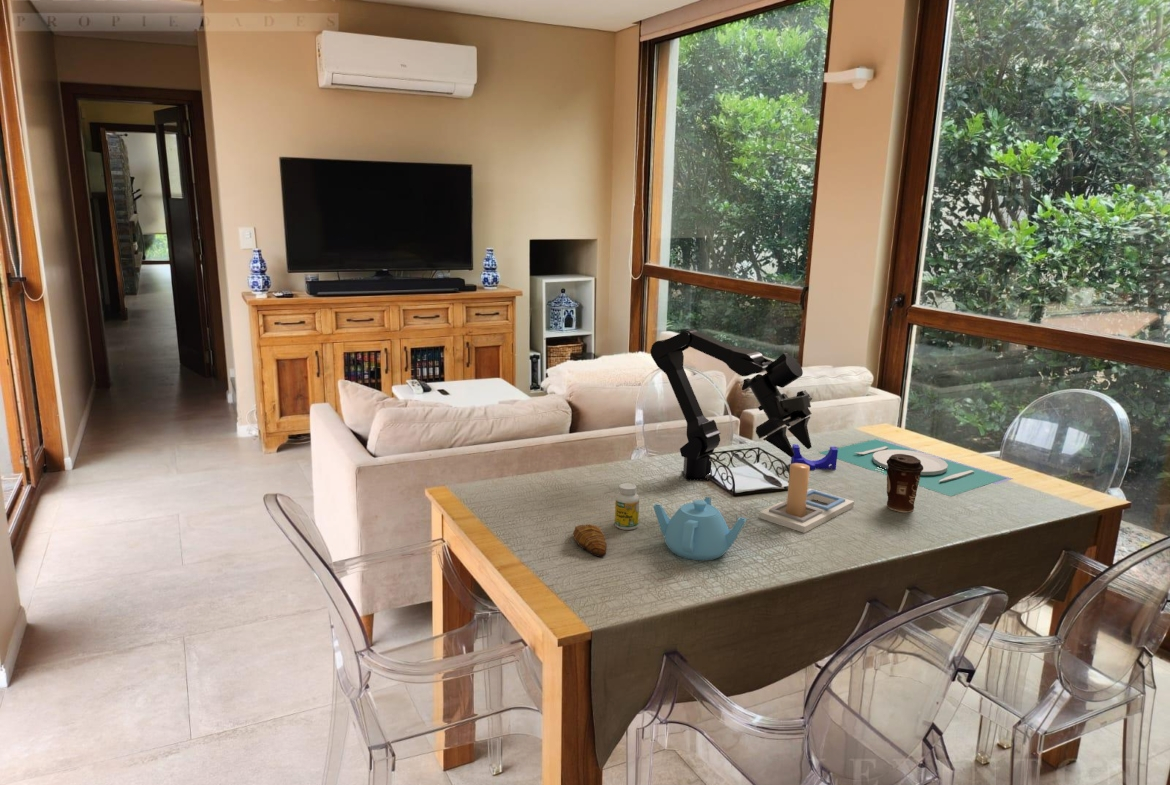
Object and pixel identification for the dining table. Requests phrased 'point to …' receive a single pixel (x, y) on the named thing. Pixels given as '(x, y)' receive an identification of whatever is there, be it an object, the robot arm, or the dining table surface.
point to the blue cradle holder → (818, 464)
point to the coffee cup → (902, 482)
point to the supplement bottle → (627, 507)
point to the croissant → (591, 539)
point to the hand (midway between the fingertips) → (801, 452)
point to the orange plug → (797, 489)
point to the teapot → (697, 530)
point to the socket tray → (808, 511)
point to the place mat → (935, 472)
